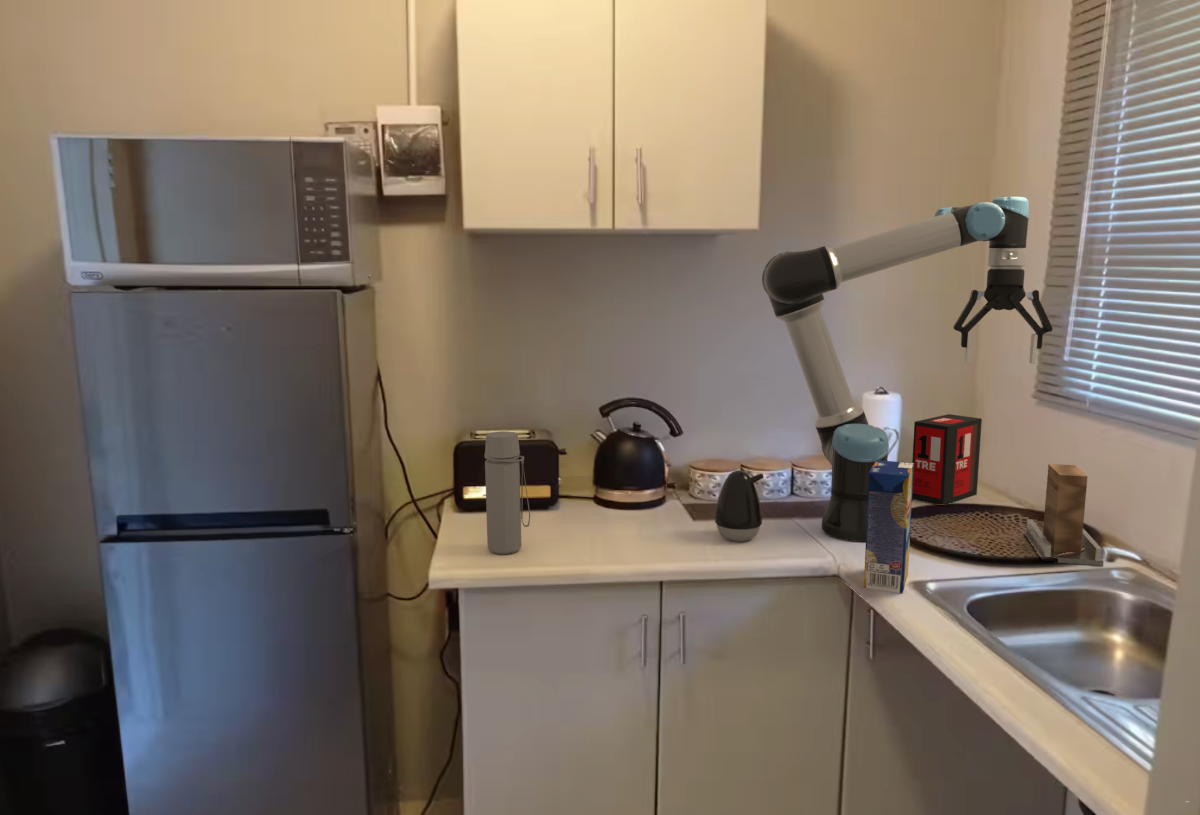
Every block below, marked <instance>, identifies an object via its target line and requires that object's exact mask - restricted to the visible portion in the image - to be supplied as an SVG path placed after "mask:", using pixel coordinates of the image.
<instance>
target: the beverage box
mask: <svg viewBox="0 0 1200 815" xmlns="http://www.w3.org/2000/svg"><path fill="white" fill-rule="evenodd" d="M913 470H914V463H912V462H905V461H895V460H893V461H891V460H887V461H882V460H876V461H875V463H874V464H873V466H872V468H871V470H870V471H869V481H868V503H867V526H866V542H865V551H864V553H865V554H864V572H863V573H864V574H863V589H868V590H874V591H875V590H876V591H883V592H889V593H896V594H903V593H904V590H905V586H906V584H907V579H908V576H909V561H910V560H909V559H910V544H911V543H910V540H911V524H912V523H911V522H912V503H913V499H912V488H913Z"/></svg>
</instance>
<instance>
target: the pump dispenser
mask: <svg viewBox="0 0 1200 815" xmlns="http://www.w3.org/2000/svg"><path fill="white" fill-rule="evenodd" d="M761 479H764V474H763V473H758V474H755V475H753V476H750V474H749V473H748V472H746V471H744V470H740V469H739V470H738V469H737V470H734V471H732V472H730V473H729V474H728V475H727V477H726V479H725V480H724V482H723V484H722V486H721V489H720V492H719V495H718V497H717V503H716V505H715V506H716V508H715V514H714V523H715V524H716V527H717V531H718V532H719V534H720V535H721V536H722V537H723V538H725V539H726V540H728V541H731V542H739V543H740V542H747V541H750V540H752V539H753V538H755V537H756V536H757V535H758V533H759V531H760V528H761V526H762V525H763V514H762V506H761V505H762V504H761V500H760V497H759V496H760V495H759V493H758V490H757V487H756V485H755V483H756V482H758V481H760V480H761Z"/></svg>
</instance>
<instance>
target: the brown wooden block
mask: <svg viewBox="0 0 1200 815" xmlns="http://www.w3.org/2000/svg"><path fill="white" fill-rule="evenodd" d="M1046 478H1047V479H1046V489H1045V503H1044V513H1043V514H1044V516H1043V517H1044V519H1043V534H1044V536H1045V537H1046V539H1047V540H1048V541H1049V543H1050V544H1051V549H1052V550H1053V551H1056V552H1079V553H1081V545H1082V534H1083V528H1084V521H1085V509H1086V499H1087V498H1086V497H1087V488H1088V487H1087V486H1088V485H1087V484H1088V475H1086V474H1085V473H1084V472H1083V471H1082V470H1081V469H1080V468H1078V466H1076V465H1075V464H1061V463H1060V464H1059V463H1058V464H1056V463H1048V466H1047V477H1046Z"/></svg>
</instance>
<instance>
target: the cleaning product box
mask: <svg viewBox="0 0 1200 815" xmlns="http://www.w3.org/2000/svg"><path fill="white" fill-rule="evenodd" d="M982 421H983V420H982V418H980V417H972V416H965V415H957V414H950V413H949V414H948V413H947V414H943V415H938V416H935V417H934V416H933V417H930V418H926V419H921V420H915V421H914V422H913V423H914V424H913V425H914V426H913V440H912V441H913V444H912V445H913V446H912V447H913V448H912V462H911V463H914V470H913V488H912V500H914V501H919V502H924V503H928V504H932V505H936V504H948V505H950V504H949V503H951V504H954V503H955V502H959V501H962V500H964V499H968V498H970V497H974V496H977V494H978V483H979V482H978V481H979V468H980V467H979V466H980V453H981V452H980V450H981V436H982V435H981V434H982V433H981V432H982Z"/></svg>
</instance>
